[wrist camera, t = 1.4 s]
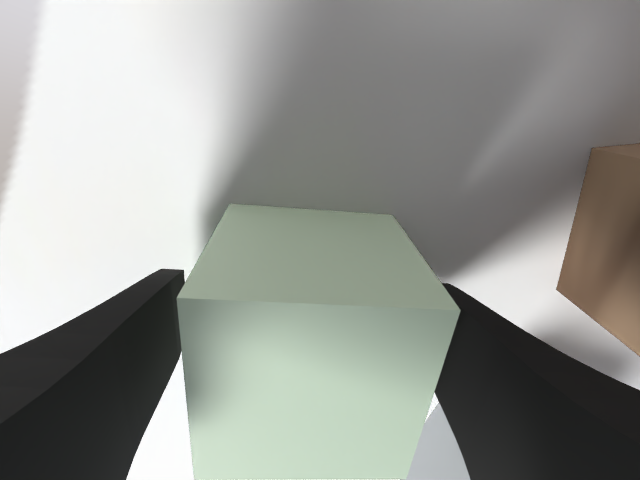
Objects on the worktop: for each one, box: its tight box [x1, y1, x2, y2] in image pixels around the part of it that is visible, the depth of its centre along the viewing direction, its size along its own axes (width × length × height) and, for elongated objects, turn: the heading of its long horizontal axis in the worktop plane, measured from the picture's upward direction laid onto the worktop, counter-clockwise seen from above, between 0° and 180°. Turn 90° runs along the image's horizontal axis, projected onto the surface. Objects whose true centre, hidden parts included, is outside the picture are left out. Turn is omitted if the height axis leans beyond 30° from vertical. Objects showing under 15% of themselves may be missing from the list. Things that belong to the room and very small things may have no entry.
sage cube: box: [177, 204, 461, 480], centre depth 9 cm, size 5×5×5 cm
